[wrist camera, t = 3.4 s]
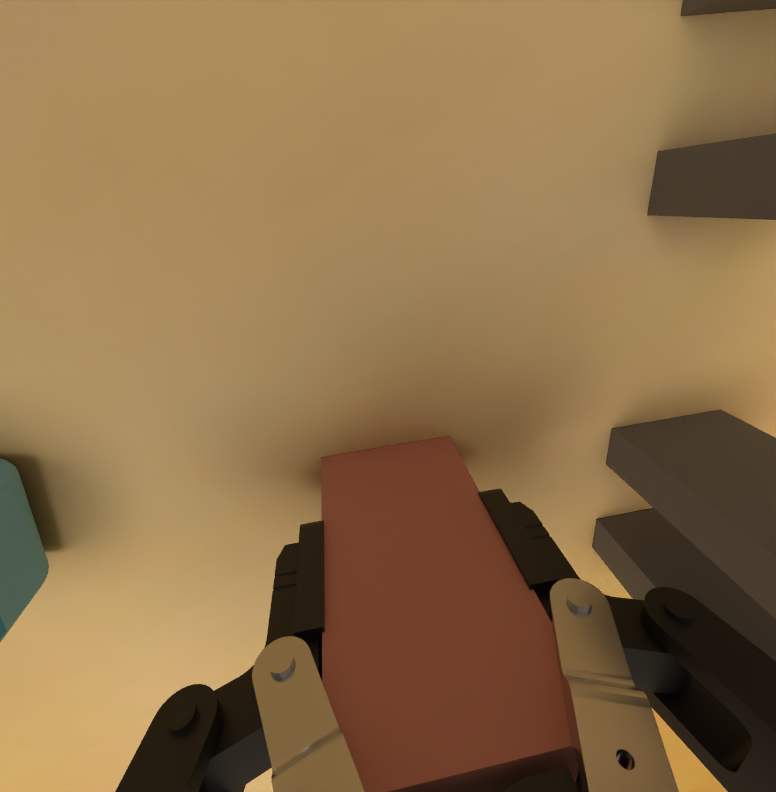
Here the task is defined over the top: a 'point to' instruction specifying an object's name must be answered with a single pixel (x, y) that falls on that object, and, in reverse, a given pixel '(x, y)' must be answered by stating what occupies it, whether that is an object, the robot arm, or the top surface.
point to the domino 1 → (433, 630)
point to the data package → (17, 549)
